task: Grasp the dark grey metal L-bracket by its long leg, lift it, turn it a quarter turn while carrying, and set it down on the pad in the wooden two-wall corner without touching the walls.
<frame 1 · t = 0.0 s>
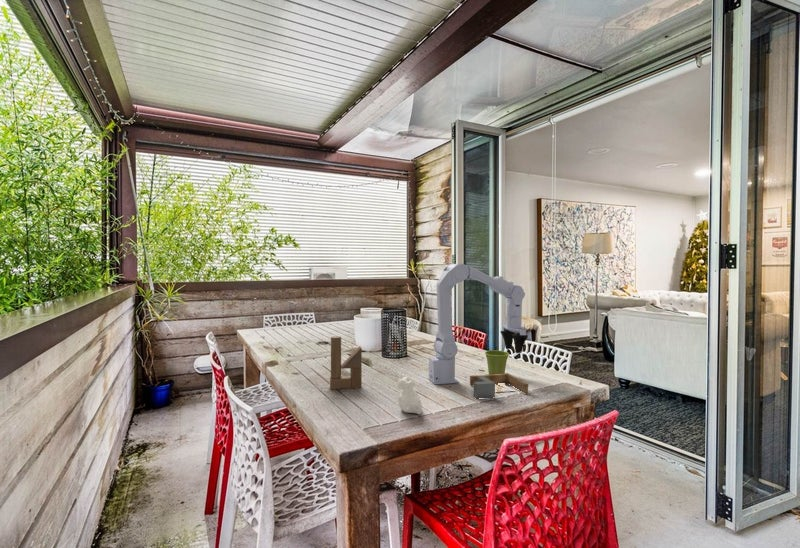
hand: (513, 350, 159), 10 cm above the table, tool pointing down, fingers open, 7 cm apart
bracket: (486, 394, 137), on the table
walls: (496, 389, 143), on the table
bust: (409, 411, 121), on the table
plant pot: (496, 375, 162), on the table
wooden block: (345, 388, 144), on the table
pad: (496, 388, 143), on the table
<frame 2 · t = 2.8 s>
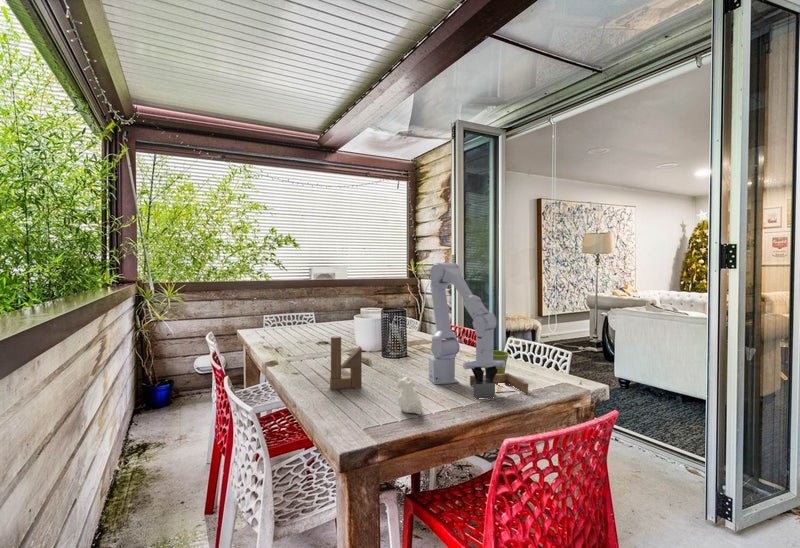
hand: (484, 389, 138), 1 cm above the table, tool pointing down, fingers closed on bracket, 2 cm apart
bracket: (486, 394, 137), on the table, touching gripper
everything else where it was.
when the fingers open (2 cm above the table, at t = 5.9 s): bracket stays where it is, resting on pad.
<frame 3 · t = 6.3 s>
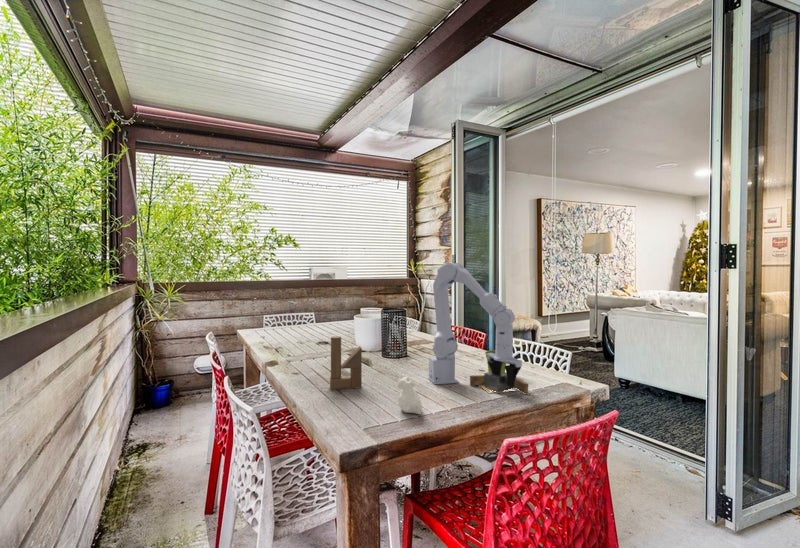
hand: (503, 383, 142), 2 cm above the table, tool pointing down, fingers open, 6 cm apart
bracket: (503, 388, 142), resting on pad, touching gripper
everything else where it was.
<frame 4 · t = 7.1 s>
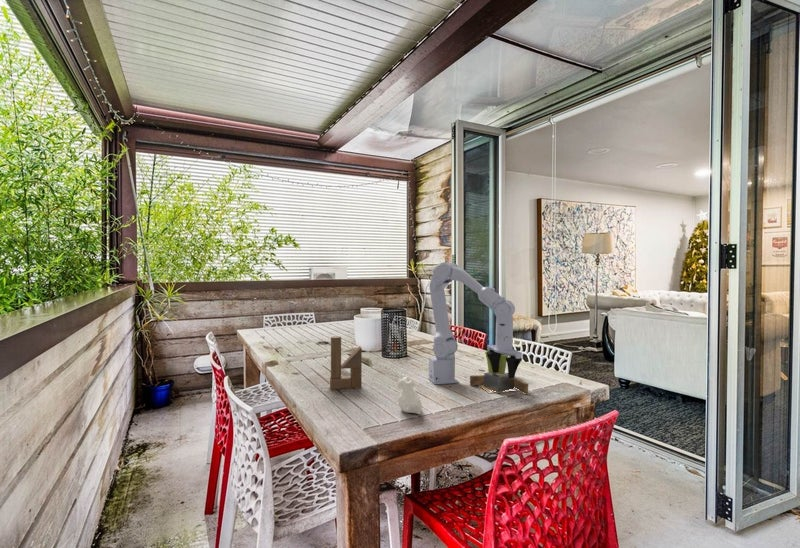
hand: (503, 375, 142), 5 cm above the table, tool pointing down, fingers open, 7 cm apart
bracket: (503, 389, 142), resting on pad
everything else where it was.
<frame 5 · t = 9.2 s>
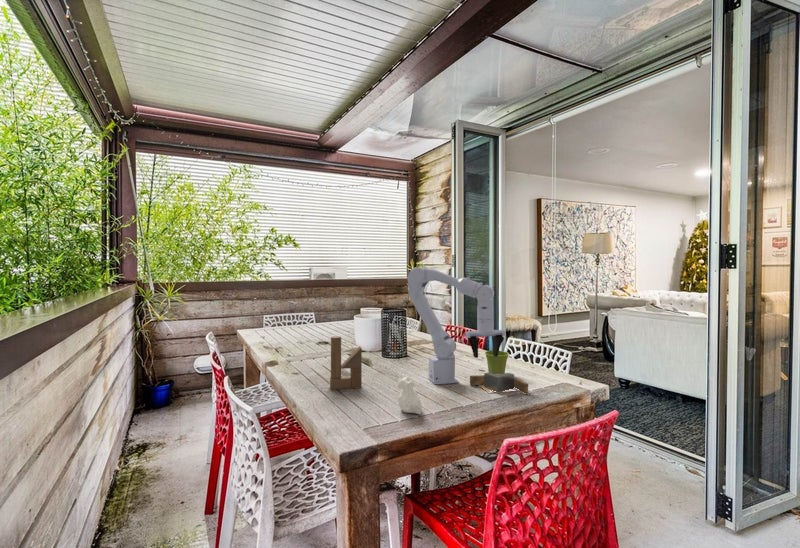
hand: (485, 356, 147), 10 cm above the table, tool pointing down, fingers open, 7 cm apart
nothing on the table moved.
at the end: bracket 1.5 cm from the target spot, resting on pad; bracket tilted 0°; bracket touching pad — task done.
